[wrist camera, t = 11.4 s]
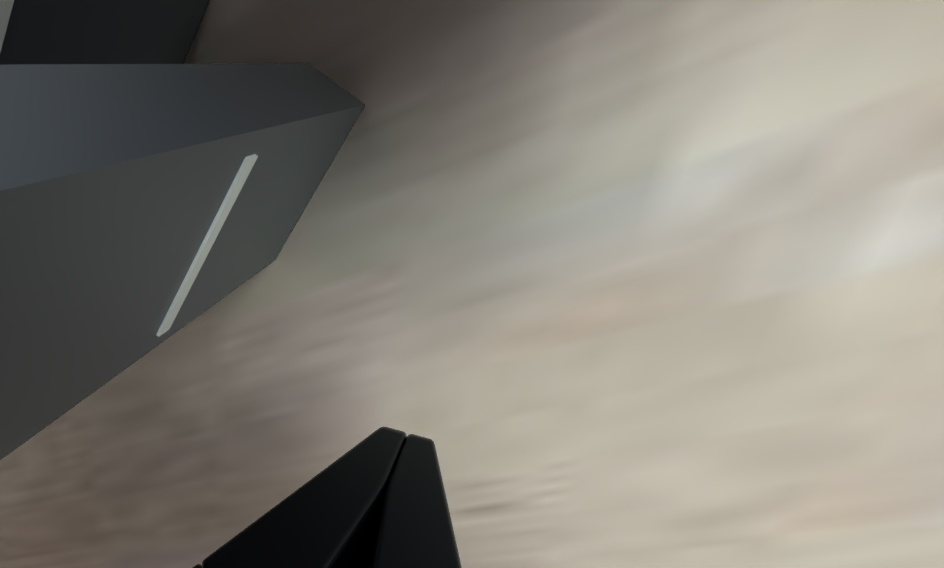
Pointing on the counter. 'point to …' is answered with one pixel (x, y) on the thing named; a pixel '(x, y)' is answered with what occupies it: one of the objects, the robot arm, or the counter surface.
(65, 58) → the domino
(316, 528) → the robot arm
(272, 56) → the counter surface
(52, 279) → the domino
